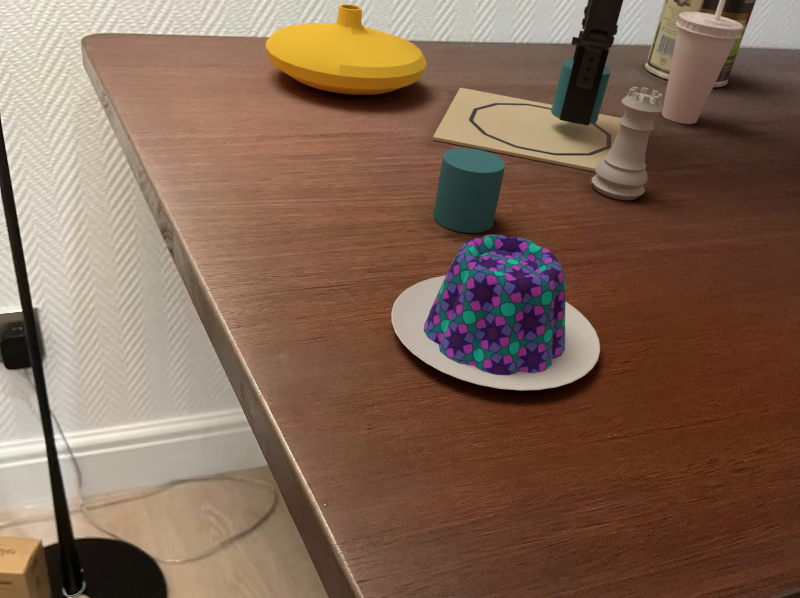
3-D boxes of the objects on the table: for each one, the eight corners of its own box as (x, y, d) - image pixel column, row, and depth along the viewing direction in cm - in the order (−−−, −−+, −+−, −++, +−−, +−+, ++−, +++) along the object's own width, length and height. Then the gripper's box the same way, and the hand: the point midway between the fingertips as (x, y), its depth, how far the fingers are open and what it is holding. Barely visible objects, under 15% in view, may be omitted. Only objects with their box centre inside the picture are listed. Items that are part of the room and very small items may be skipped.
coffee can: (735, 78, 102) (780, -47, 94) (715, 94, 95) (763, -40, 86) (657, 57, 106) (694, -65, 97) (632, 71, 99) (670, -60, 90)
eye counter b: (597, 113, 78) (610, 65, 75) (596, 128, 74) (610, 77, 71) (552, 104, 78) (564, 56, 75) (549, 118, 75) (561, 68, 72)
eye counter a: (496, 213, 60) (508, 155, 58) (489, 238, 57) (502, 177, 54) (438, 201, 61) (448, 143, 58) (428, 225, 57) (437, 164, 55)
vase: (233, 67, 80) (232, -10, 76) (354, 54, 90) (360, -16, 85) (331, 120, 72) (337, 36, 68) (454, 98, 81) (466, 23, 77)
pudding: (455, 265, 53) (469, 189, 50) (626, 335, 49) (653, 257, 45) (347, 339, 45) (356, 253, 41) (542, 432, 40) (568, 345, 37)
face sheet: (632, 123, 82) (633, 119, 82) (636, 180, 69) (637, 176, 69) (459, 90, 84) (460, 86, 84) (432, 140, 71) (433, 136, 71)
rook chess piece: (594, 174, 69) (622, 78, 64) (646, 188, 68) (678, 91, 63) (585, 192, 66) (612, 92, 61) (639, 206, 65) (672, 106, 60)
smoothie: (682, 131, 82) (733, -21, 74) (636, 109, 86) (679, -37, 78) (722, 125, 85) (775, -21, 77) (675, 105, 89) (721, -37, 81)
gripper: (606, -199, 69) (542, 81, 83) (604, -202, 55) (528, 134, 69) (694, -185, 68) (614, 95, 83) (714, -184, 55) (615, 152, 69)
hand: (575, 112), depth 76 cm, fingers closed on eye counter b, 4 cm apart
